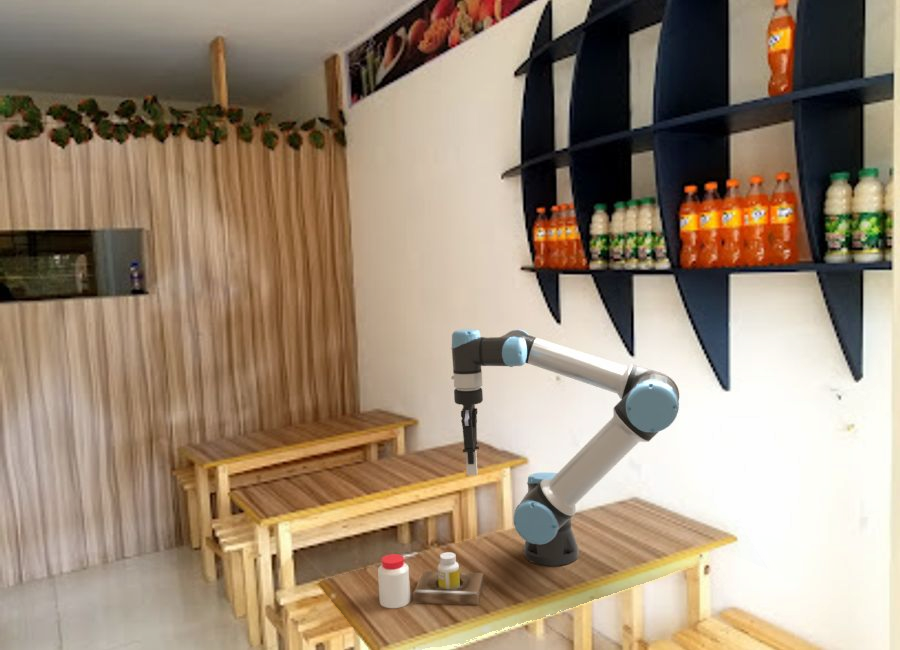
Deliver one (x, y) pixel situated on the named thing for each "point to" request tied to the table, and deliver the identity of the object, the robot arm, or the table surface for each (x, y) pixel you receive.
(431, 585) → the jig
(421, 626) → the table surface
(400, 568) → the pill bottle
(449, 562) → the supplement bottle
